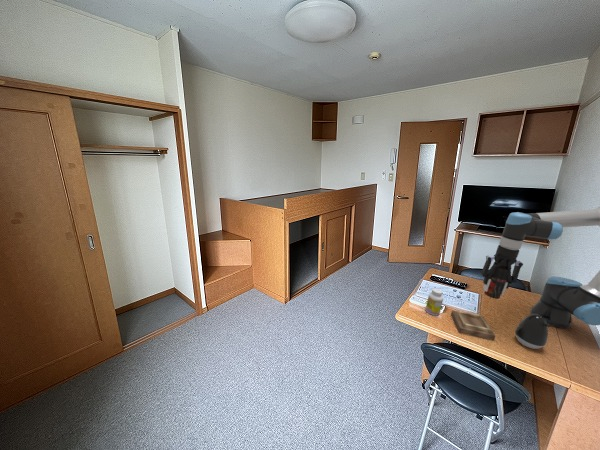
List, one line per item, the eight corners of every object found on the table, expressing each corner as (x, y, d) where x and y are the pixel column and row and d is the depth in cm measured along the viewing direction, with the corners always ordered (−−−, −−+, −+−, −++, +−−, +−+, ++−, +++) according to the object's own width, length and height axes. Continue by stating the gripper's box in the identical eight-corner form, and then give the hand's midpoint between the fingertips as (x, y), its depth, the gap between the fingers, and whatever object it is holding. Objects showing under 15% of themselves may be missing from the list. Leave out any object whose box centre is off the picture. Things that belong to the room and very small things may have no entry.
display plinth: (482, 321, 123) (484, 314, 121) (494, 340, 110) (496, 333, 109) (450, 314, 126) (452, 308, 125) (459, 332, 114) (461, 325, 112)
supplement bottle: (423, 307, 131) (427, 286, 128) (435, 308, 131) (440, 287, 127) (428, 315, 125) (433, 293, 121) (441, 316, 125) (447, 294, 121)
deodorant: (502, 299, 113) (513, 271, 109) (488, 297, 114) (498, 268, 110) (495, 293, 119) (505, 265, 114) (481, 290, 120) (491, 263, 115)
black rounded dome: (525, 352, 104) (537, 322, 99) (507, 334, 114) (517, 307, 109) (550, 354, 104) (563, 324, 99) (529, 336, 113) (540, 308, 109)
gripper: (530, 248, 110) (512, 292, 117) (481, 240, 115) (467, 283, 122) (539, 254, 103) (520, 301, 110) (487, 245, 108) (472, 291, 115)
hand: (492, 291), depth 116 cm, fingers closed on deodorant, 6 cm apart
